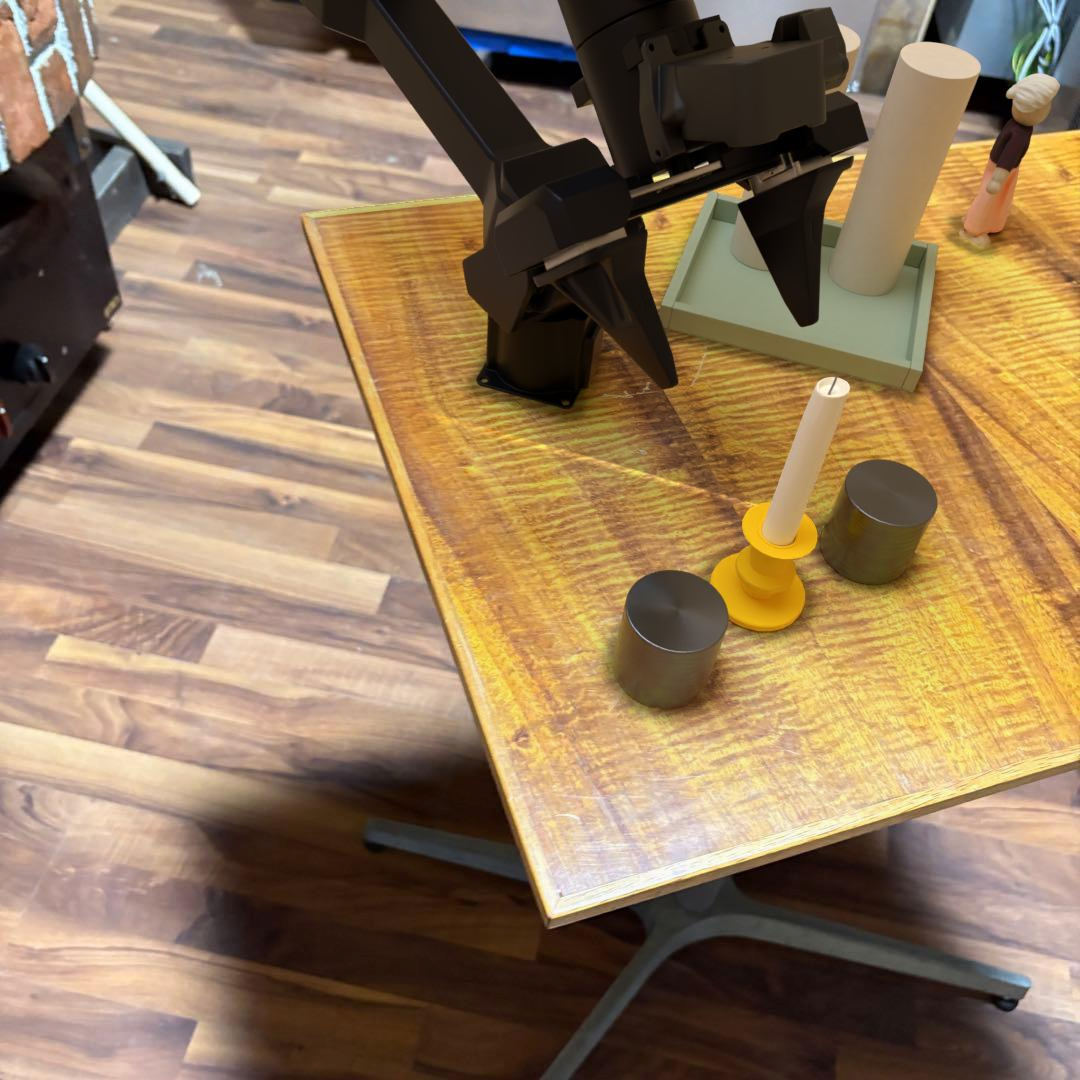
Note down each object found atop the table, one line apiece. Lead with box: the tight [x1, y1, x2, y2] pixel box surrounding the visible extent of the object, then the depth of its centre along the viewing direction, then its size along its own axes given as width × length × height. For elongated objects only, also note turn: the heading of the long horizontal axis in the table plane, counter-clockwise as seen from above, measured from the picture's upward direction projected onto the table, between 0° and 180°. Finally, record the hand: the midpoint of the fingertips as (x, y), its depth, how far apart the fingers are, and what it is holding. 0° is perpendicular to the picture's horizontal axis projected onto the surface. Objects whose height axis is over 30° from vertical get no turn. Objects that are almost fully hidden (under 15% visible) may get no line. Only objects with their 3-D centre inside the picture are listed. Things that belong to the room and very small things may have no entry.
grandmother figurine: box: [958, 72, 1061, 247], centre depth 77 cm, size 8×4×13 cm, turn 168°
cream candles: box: [730, 22, 982, 296], centre depth 70 cm, size 12×5×16 cm, turn 72°
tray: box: [658, 191, 939, 394], centre depth 73 cm, size 18×16×2 cm
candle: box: [709, 375, 851, 632], centre depth 50 cm, size 5×5×16 cm
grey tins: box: [612, 458, 939, 710], centre depth 54 cm, size 5×20×5 cm, turn 125°
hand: (742, 355), depth 50 cm, fingers open, 9 cm apart
